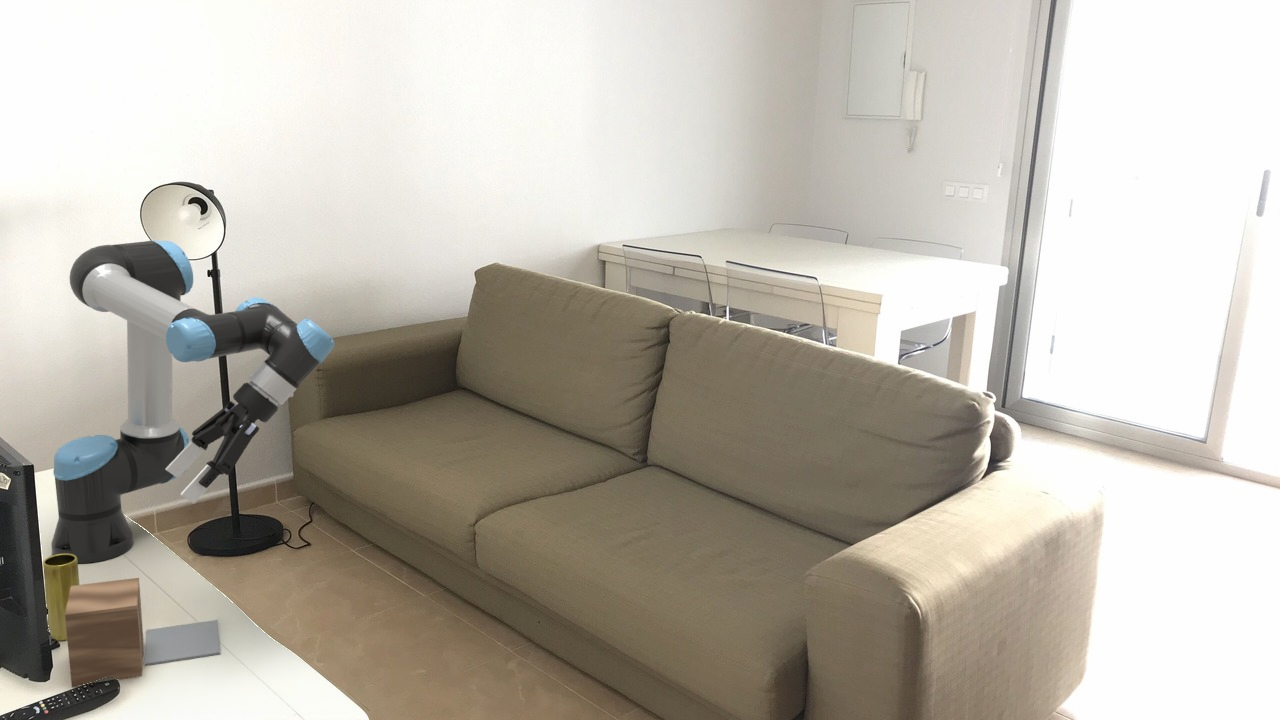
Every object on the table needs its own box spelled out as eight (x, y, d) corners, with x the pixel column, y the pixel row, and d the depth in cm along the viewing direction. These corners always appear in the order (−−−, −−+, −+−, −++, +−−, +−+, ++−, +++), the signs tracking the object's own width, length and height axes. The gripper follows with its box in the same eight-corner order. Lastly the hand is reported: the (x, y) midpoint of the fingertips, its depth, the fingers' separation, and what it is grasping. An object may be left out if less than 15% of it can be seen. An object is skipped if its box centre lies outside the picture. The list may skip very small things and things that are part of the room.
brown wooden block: (77, 655, 176) (70, 586, 173) (143, 645, 180) (138, 577, 177) (71, 687, 167) (64, 614, 164) (142, 676, 171) (136, 605, 168)
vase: (78, 640, 181) (72, 566, 177) (41, 641, 180) (34, 567, 176) (91, 623, 186) (84, 551, 183) (54, 624, 185) (47, 552, 182)
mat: (146, 631, 185) (146, 629, 185) (217, 621, 190) (217, 619, 189) (144, 665, 174) (144, 663, 174) (220, 654, 179) (220, 652, 179)
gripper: (299, 425, 176) (211, 522, 171) (261, 389, 196) (182, 475, 191) (266, 399, 171) (175, 498, 167) (231, 365, 191) (149, 452, 187)
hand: (179, 486), depth 179 cm, fingers open, 13 cm apart
